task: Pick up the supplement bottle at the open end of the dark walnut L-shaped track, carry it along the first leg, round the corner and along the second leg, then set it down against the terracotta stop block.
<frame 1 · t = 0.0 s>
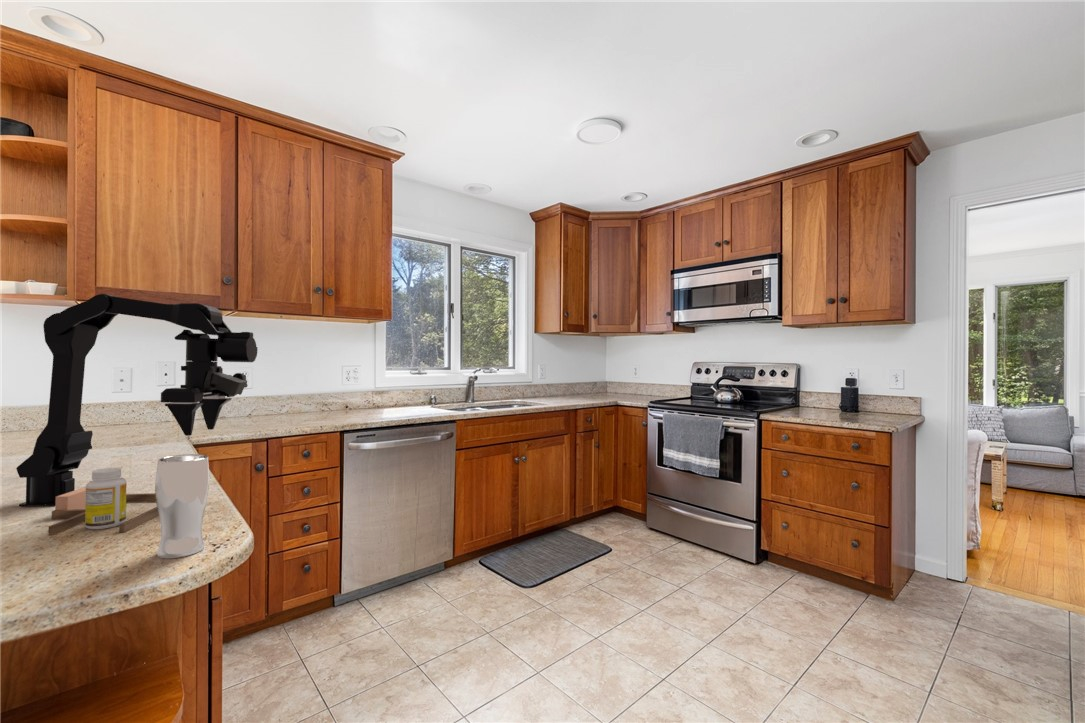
hand: (200, 432, 106), 15 cm above the countertop, fingers open, 9 cm apart
beer glass: (181, 552, 77), on the countertop
walnut track: (123, 514, 94), on the countertop
supplement bottle: (105, 526, 88), on the countertop
stop block: (81, 509, 97), on the countertop
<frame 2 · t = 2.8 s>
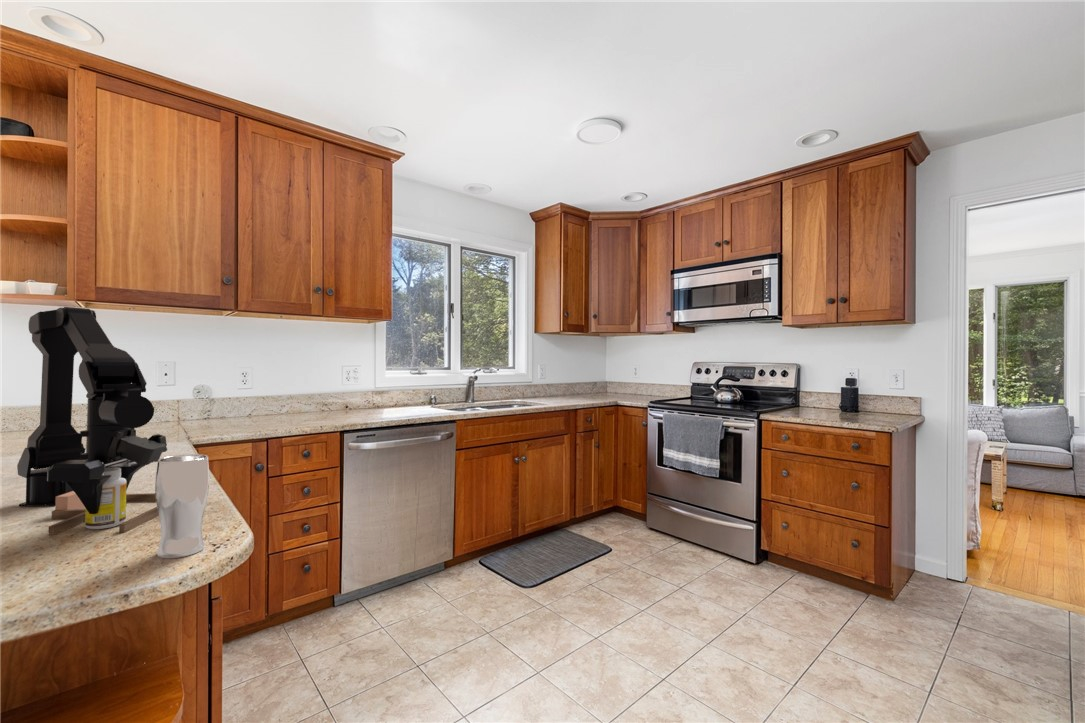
hand: (105, 508, 88), 3 cm above the countertop, fingers closed on supplement bottle, 6 cm apart
supplement bottle: (105, 526, 88), on the countertop, touching gripper
everything else where it was.
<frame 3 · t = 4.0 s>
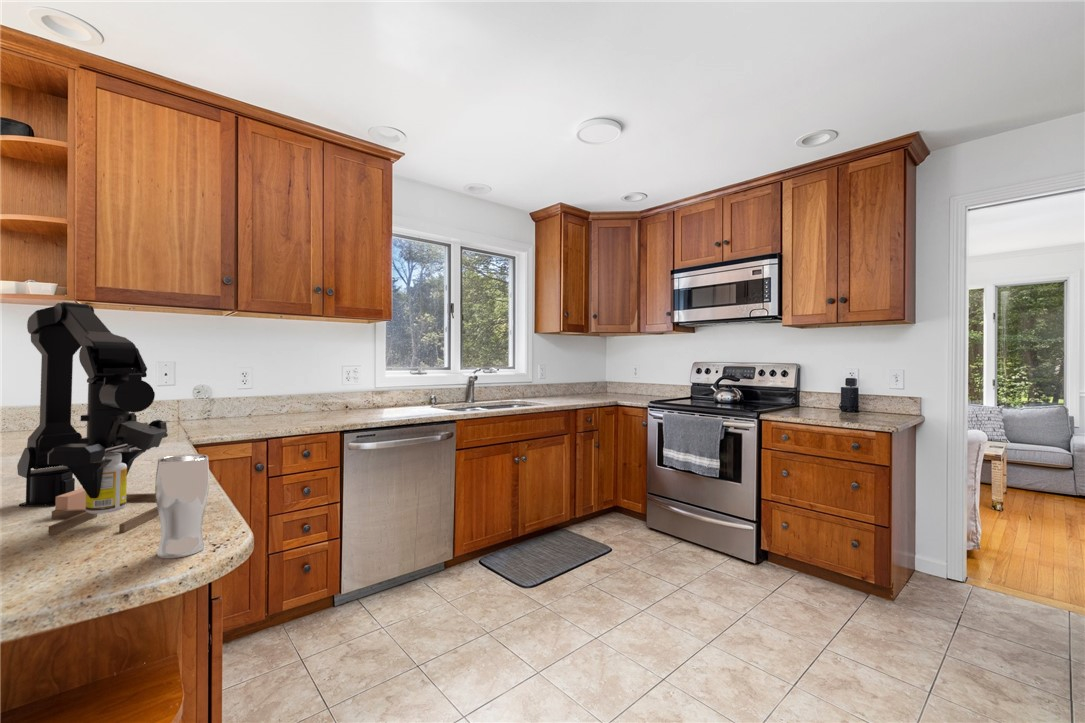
hand: (106, 493, 88), 6 cm above the countertop, fingers closed on supplement bottle, 6 cm apart
supplement bottle: (105, 511, 88), point 3 cm above the countertop, touching gripper
everything else where it was.
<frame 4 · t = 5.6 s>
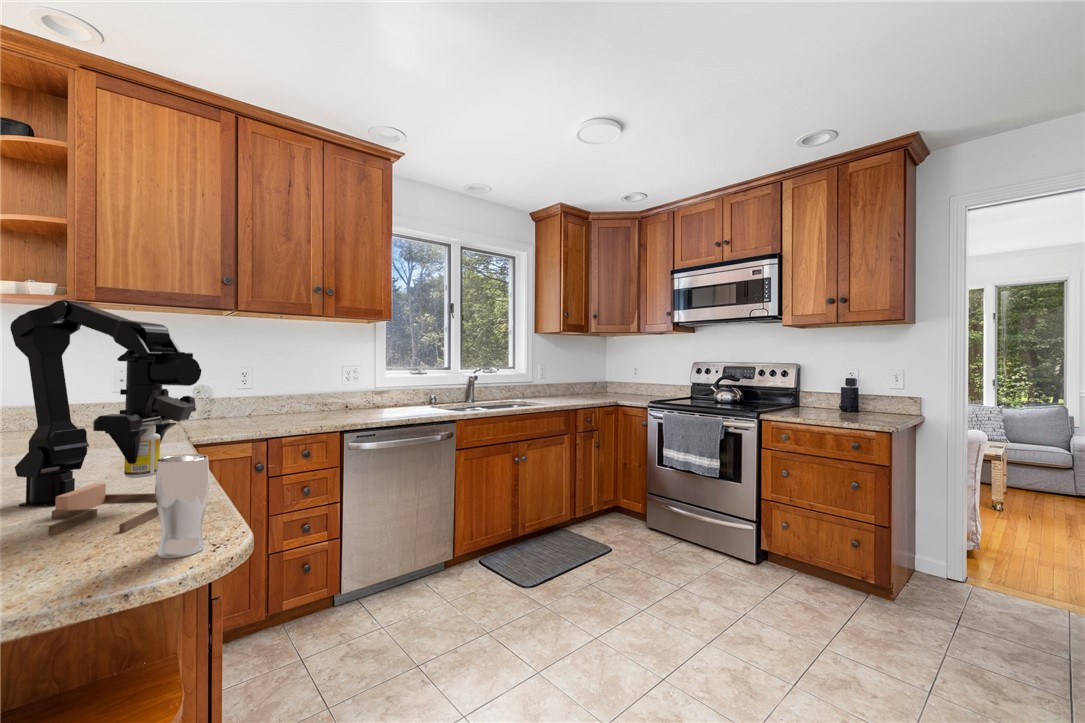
hand: (142, 460, 98), 10 cm above the countertop, fingers closed on supplement bottle, 6 cm apart
supplement bottle: (141, 476, 98), point 7 cm above the countertop, touching gripper
everything else where it was.
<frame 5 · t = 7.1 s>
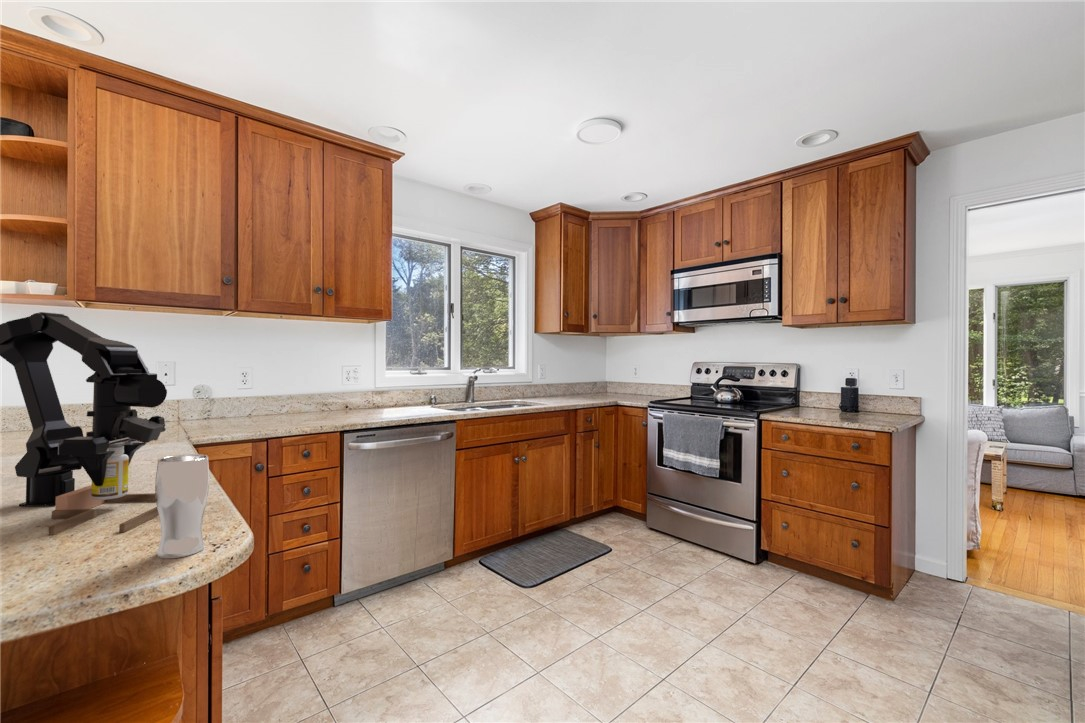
hand: (109, 482, 98), 5 cm above the countertop, fingers closed on supplement bottle, 6 cm apart
supplement bottle: (109, 497, 98), point 2 cm above the countertop, touching gripper
everything else where it was.
when the fingers open (3 cm above the countertop, at t = 8.3 s): supplement bottle stays where it is, on the countertop.
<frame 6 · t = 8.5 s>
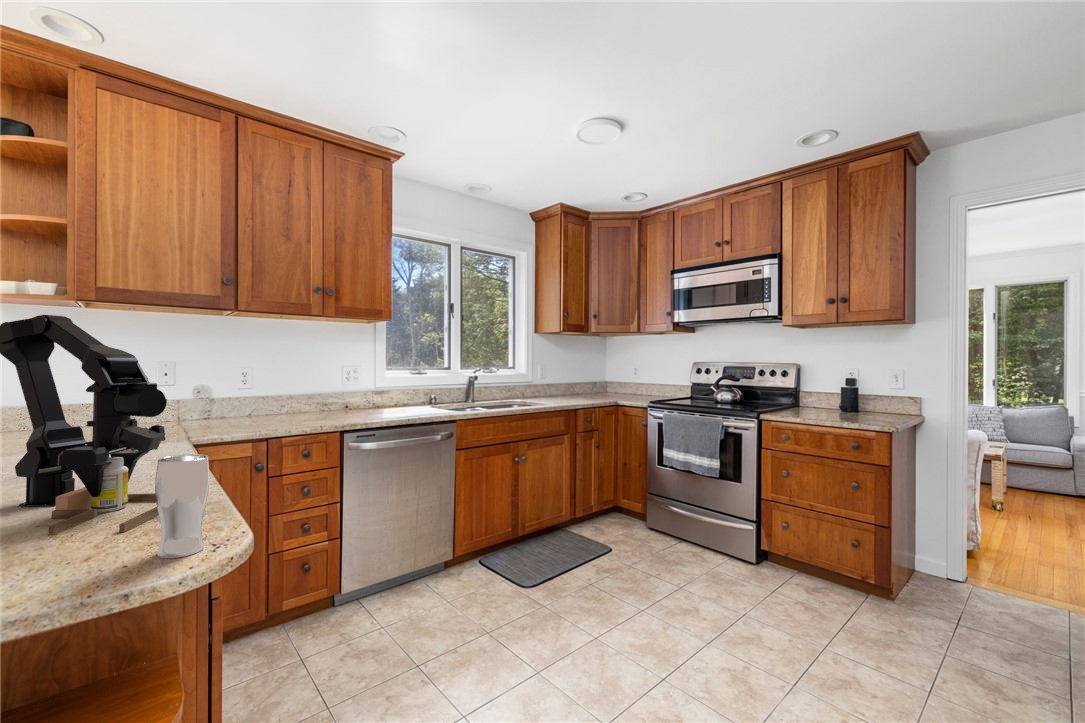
hand: (110, 491, 98), 3 cm above the countertop, fingers open, 7 cm apart
supplement bottle: (109, 510, 98), on the countertop
everything else where it was.
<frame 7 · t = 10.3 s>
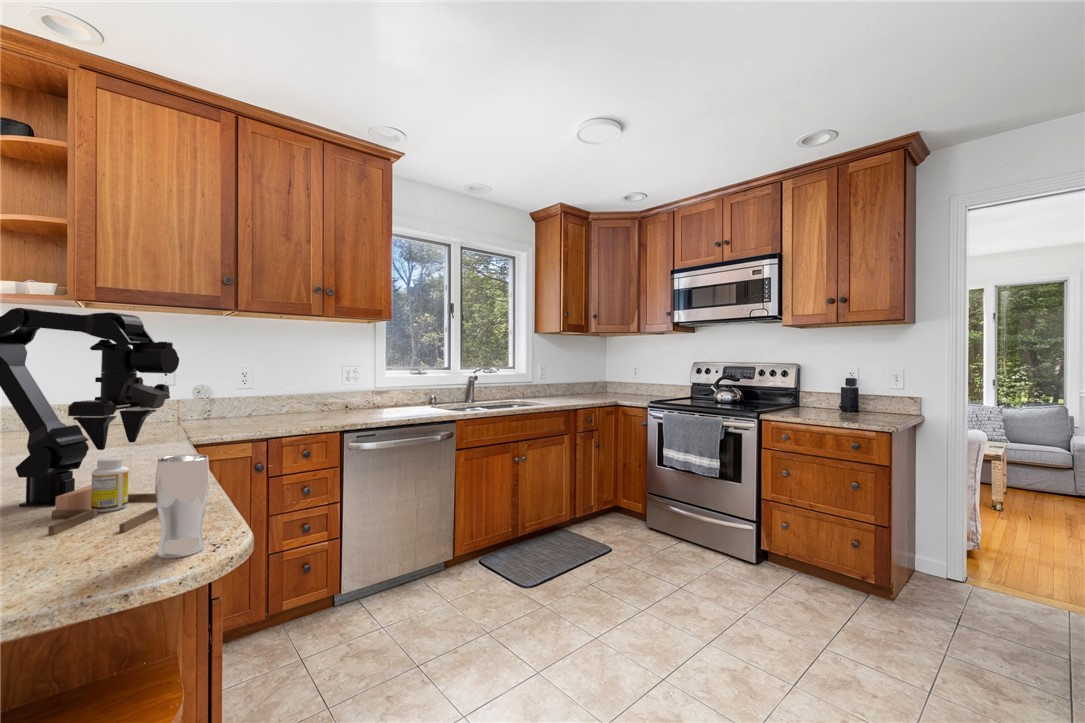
hand: (117, 445, 102), 12 cm above the countertop, fingers open, 9 cm apart
nothing on the countertop moved.
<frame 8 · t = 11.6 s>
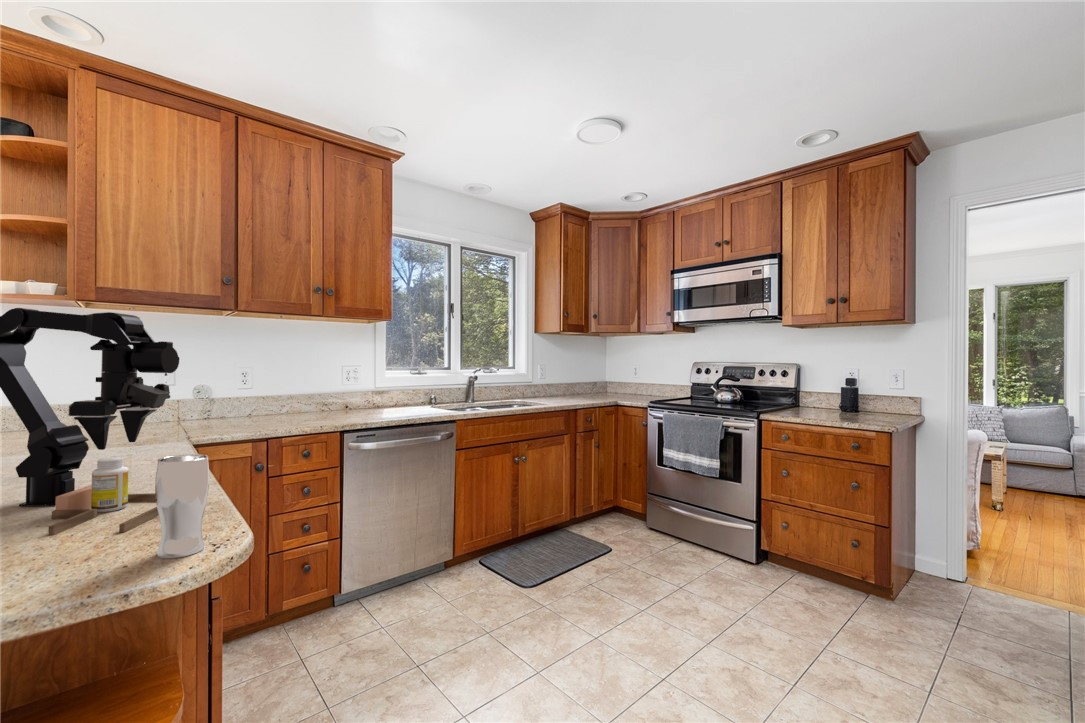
hand: (117, 445, 102), 12 cm above the countertop, fingers open, 9 cm apart
nothing on the countertop moved.
at the end: supplement bottle 0.2 cm from the target spot, on the countertop; supplement bottle tilted 0°; the gripper is holding nothing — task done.
